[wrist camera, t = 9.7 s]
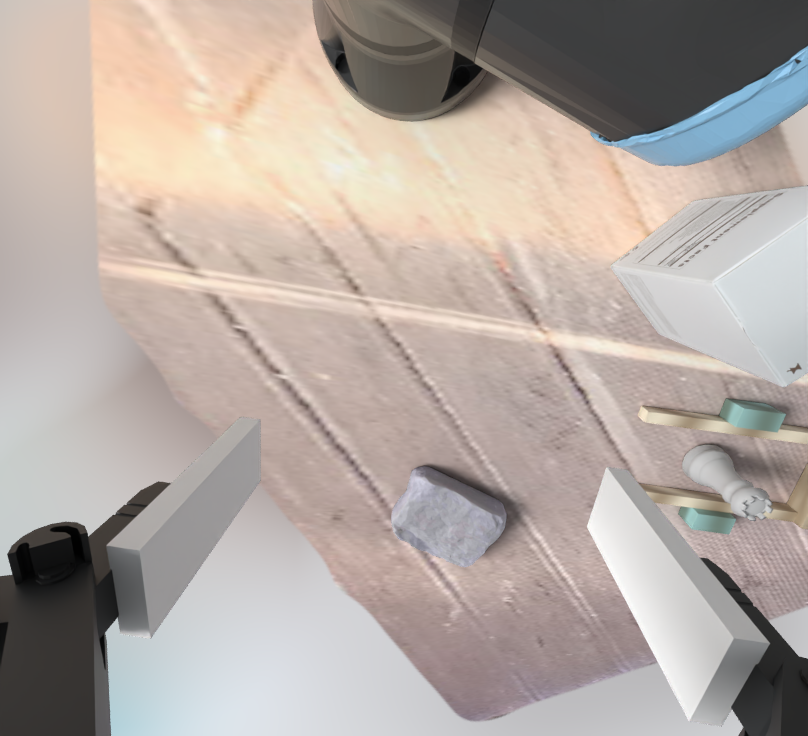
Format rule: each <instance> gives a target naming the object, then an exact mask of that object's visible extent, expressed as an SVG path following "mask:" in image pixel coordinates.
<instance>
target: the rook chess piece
mask: <svg viewBox="0 0 808 736" xmlns="http://www.w3.org/2000/svg"><path fill="white" fill-rule="evenodd" d="M682 467H683V471H684V473H685V474H686V476H688V477H689V478H691V479H692V481H694V482H696V483H698V484H700V485H703V486H707V487H711V488H713V489H714V490H716V491H717V492H718V493H720V494H721V495H722V498H723V499H724V501H725V502H727V503H729V504H731V510H732V511H733V513H734V514H736V515H738V516H740V517H745V518H748V519H749V520H750V521H756V518H755V517H758V518H760V519H761V520H763V519H765V518H767V517H766V516H765V515H764V514H763V513H764V512H766V511H767V512H768V513H772V511H773V508H771V507H770V506H771V505H773V504H772V502H771V501H770V500H769V495H768V494H767V492H766V491H764V490H762V489H761V488H754V486H753V485H752V483H750V482H749V481H747V480H743V479H742V478H741V477H740V476H739V475H738V473H737V472H736V471H735V467H734V466H733V461H732V460H731V458H730V457H729V455H728V454H727V453H725V452H724V451H723V449H721V448H720V447H718V446H716V445H701V446H696V447H695V448H693V449H691V450H689V452H688V453H687V454H686V455H685V457H684V459H683V462H682Z"/></svg>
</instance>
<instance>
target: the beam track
mask: <svg viewBox="0 0 808 736" xmlns="http://www.w3.org/2000/svg"><path fill="white" fill-rule="evenodd" d="M785 416H786V414H785V413H783V412H781V411H779V410H777V409H775V408H773V407H771V406H769V405H767V404H764V403H757V402H749V401H742V400H734V399H727V398H726V400H725V402H724V405H723V407H722V409H721V412H720V414H719V416H715V415H707V414H700V413H692V412H685V411H677V410H670V409H662V408H655V407H647V406H641V408H640V411H639V414H638V417H639V418H641V419H642V420H643V421H644V422H646V423H653V424H661V425H668V426H675V427H683V428H690V429H698V430H705V431H713V432H720V433H728V434H735V435H742V436H750V437H757V438H765V439H772V440H780V441H787V442H795V443H802V444H808V428H805V427H797V426H790V425H782V422H783V420H784V418H785ZM639 485H640V486H641V487H642V488H643V489H644V491H645V492H646V493H647V494H648V496H649V497H650V498H651V499H652V500H653V502H654V503H661V504H668V505H675V506H681V508H680V511H679V513H678V514H679V515H680V516H681V517H682V519H683V520H684V521H685V522H686V523H687V524H688V525H689V527H690V528H691V529H694V530H701V531H708V532H716V533H723V534H730V532H731V529H732V527H733V525H734V523H735V521H736V519H735V518H734V517H733V516H732V515H731V514H730V513H733V511H732V510H731V504H729V503H727V502H725V501H724V499H723V498H722V495H719V494H712V493H704V492H697V491H690V490H683V489H675V488H668V487H661V486H654V485H647V484H639ZM772 504H773V505H771V506H770V507H771V508H773V511H772V513H768V512H767V511H766V512H764V513H763V514H764V515H765V516H766V517H767V518H769V519H776V520H783V521H790V522H794V523H795V524H797V525H798V526H799V527H800V528H802V529H808V463H807V465H806V467H805V469H804V471H803V473H802V475H801V477H800V479H799V481H798V483H797V484H796V486H795V488H794V490H793V492H792V494H791V496H790V498H789V500H788V502H787V504H784V503H777V502H772ZM733 514H734V513H733Z"/></svg>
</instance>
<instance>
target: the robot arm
mask: <svg viewBox="0 0 808 736" xmlns="http://www.w3.org/2000/svg"><path fill="white" fill-rule="evenodd" d="M312 1H313V12H314V19H315V25H316V29H317V33H318V37H319V40H320V43H321V46H322V49H323V51H324V54H325V56H326V58H327V60H328V62H329V64H330V66H331V67H332V69H333V71H334V72H335V74H336V76H337V77H338V79H339V80H340V82H341V83H342V85H343V86H344V87H345V89H346V90H347V91H348V92H349V93H350V94H351V95H352V96H353V97H354V98H355V99H356V100H357V101H358V102H359V103H361V104H362V105H363V106H364V107H366V108H368V109H369V110H371V111H373V112H374V113H376V114H379V115H381V116H384V117H387V118H390V119H394V120H400V121H418V120H425V119H429V118H433V117H436V116H438V115H441V114H443V113H445V112H447V111H449V110H451V109H452V108H454V107H455V106H457V105H458V104H460V103H461V102H462V101H463V100H465V99H466V98H467V97H468V96H469V95H470V94H471V93H472V92H473V91H474V90H475V88H476V87H477V86H478V85H479V84H480V82H481V81H482V80H483V78H484V77H485V75H486V73H487V72H488V71H489V72H490V73H492V74H494V75H495V76H497V77H499V78H501V79H502V80H504V81H506V82H507V83H509V84H511V85H513V86H514V87H516V88H518V89H519V90H521V91H523V92H525V93H526V94H528V95H530V96H531V97H533V98H535V99H536V100H538V101H540V102H542V103H543V104H545V105H547V106H548V107H550V108H552V109H554V110H555V111H557V112H559V113H560V114H562V115H564V116H566V117H567V118H569V119H571V120H572V121H574V122H576V123H578V124H579V125H581V126H583V127H584V128H586V129H588V130H589V131H590V132H591V136H592V137H593V138H594V139H596V140H597V141H598V142H600V143H602V144H604V145H608V146H614V147H619V148H621V149H623V150H625V151H627V152H629V153H631V154H633V155H635V156H637V157H639V158H641V159H643V160H645V161H647V162H649V163H651V164H655V165H659V166H665V165H669V166H680V165H681V166H685V165H691V164H695V163H699V162H703V161H706V160H709V159H712V158H715V157H717V156H720V155H722V154H724V153H727V152H729V151H731V150H733V149H736V148H738V147H740V146H742V145H744V144H746V143H747V142H749V141H751V140H753V139H755V138H756V137H758V136H760V135H762V134H763V133H765V132H767V131H768V130H770V129H772V128H773V127H775V126H776V125H778V124H780V123H781V122H783V121H784V120H786V119H787V118H789V117H790V116H792V115H793V114H795V113H796V112H798V111H799V110H801V109H802V108H803V107H805V106H806V105H807V104H808V0H312ZM260 481H261V479H260V419H254V418H247V417H240V418H239V419H238V420H237V421H236V422H235V423H234V424H233V425H231V426H230V427H229V428H228V429H227V430H226V431H225V432H224V433H223V434H222V435H221V436H220V437H219V438H218V439H217V440H216V441H215V442H214V443H213V444H212V445H211V446H210V447H209V448H207V449H206V450H205V451H204V452H203V453H202V454H201V455H200V456H199V457H198V458H197V459H196V460H195V461H194V462H193V463H192V464H191V465H190V466H189V467H188V468H187V469H186V470H185V471H184V472H183V473H181V474H180V475H179V476H178V477H177V478H176V479H175V480H174V481H173V482H172V483H165V482H157V483H155V484H153V485H151V486H149V487H147V488H145V489H143V490H141V491H140V492H139V493H138V494H136V495H135V496H134V497H133V498H132V499H131V500H130V501H128V502H127V505H124V506H123V507H122V508H121V509H119V510H118V511H117V512H116V515H113V516H112V517H110V518H109V519H108V520H107V521H106V522H105V523H103V524H102V525H101V526H100V527H99V528H98V529H97V530H96V531H94V532H93V533H92V534H91V535H90V536H89V537H88V533H87V530H86V529H85V526H83V525H81V524H78V523H75V522H61V523H56V524H50V525H47V526H44V527H41V528H39V529H36V530H34V531H32V532H30V533H29V534H27V535H25V536H23V537H22V538H20V539H19V540H18V541H17V542H16V543H15V544H13V545H12V547H11V549H10V550H9V552H8V554H7V555H8V559H9V563H10V566H11V570H12V574H13V575H7V576H0V736H111V726H110V704H109V683H108V664H107V663H108V662H107V641H106V635H105V632H106V631H107V629H108V628H109V627H110V626H111V625H112V623H113V622H114V621H115V620H116V618H117V617H118V622H119V628H120V634H123V635H129V636H135V637H142V638H149V639H151V638H152V636H153V634H154V633H155V632H156V630H157V629H158V627H159V626H160V625H161V623H162V622H163V620H164V619H165V617H166V616H167V615H168V613H169V612H170V610H171V608H172V607H173V606H174V605H175V603H176V601H177V600H178V599H179V597H180V596H181V594H182V593H183V592H184V590H185V589H186V587H187V586H188V584H189V583H190V581H191V580H192V579H193V577H194V576H195V574H196V573H197V571H198V570H199V569H200V567H201V566H202V564H203V562H204V561H205V560H206V558H207V557H208V556H209V554H210V553H211V551H212V550H213V548H214V547H215V545H216V544H217V542H218V541H219V540H220V538H221V537H222V535H223V534H224V532H225V531H226V530H227V528H228V527H229V525H230V524H231V522H232V521H233V520H234V518H235V517H236V515H237V514H238V512H239V511H240V509H241V508H242V507H243V505H244V504H245V502H246V501H247V499H248V498H249V496H250V495H251V494H252V492H253V491H254V489H255V488H256V486H257V485H258V484H259V482H260ZM587 528H588V530H589V532H590V534H591V535H592V537H593V539H594V541H595V543H596V545H597V547H598V549H599V551H600V553H601V555H602V556H603V558H604V560H605V562H606V564H607V566H608V568H609V570H610V572H611V574H612V575H613V577H614V579H615V581H616V583H617V585H618V587H619V589H620V591H621V593H622V595H623V596H624V598H625V600H626V602H627V604H628V606H629V608H630V610H631V612H632V614H633V615H634V617H635V619H636V621H637V623H638V625H639V627H640V629H641V631H642V633H643V634H644V636H645V638H646V640H647V642H648V644H649V646H650V648H651V650H652V652H653V654H654V655H655V657H656V659H657V661H658V663H659V665H660V667H661V669H662V670H663V673H664V674H665V676H666V678H667V680H668V682H669V684H670V686H671V688H672V690H673V691H674V694H675V695H676V697H677V699H678V701H679V703H680V705H681V707H682V709H683V710H684V713H685V714H686V716H687V718H688V720H689V721H690V722H696V723H703V724H709V725H716V726H722V725H723V724H724V722H725V720H726V718H727V717H728V715H729V713H730V712H731V710H733V711H734V713H735V714H736V716H737V717H738V719H739V720H740V722H741V723H742V725H743V729H742V731H741V732H740V734H739V736H808V659H807V658H803V657H799V656H798V655H797V654H796V653H795V652H794V650H793V649H792V648H791V647H790V646H789V645H788V643H787V642H786V641H785V640H784V639H783V638H782V636H781V635H780V634H779V633H778V632H777V631H776V630H775V628H774V627H773V626H772V625H771V624H770V623H769V621H768V620H767V619H766V618H765V617H764V616H763V614H762V613H761V612H760V611H759V610H758V609H757V608H756V607H754V606H753V603H752V602H751V601H750V599H749V598H748V597H747V596H746V595H745V594H744V593H742V592H741V589H740V588H739V587H738V586H737V584H736V583H735V582H734V581H733V580H732V579H731V577H730V576H729V575H728V574H727V573H726V572H724V571H723V570H722V569H721V568H719V567H718V566H717V565H716V564H714V563H713V562H712V561H710V560H709V559H707V558H700V557H699V556H698V555H697V554H696V553H695V552H694V550H693V549H692V548H691V547H690V545H689V544H688V543H687V542H686V541H685V539H684V538H683V537H682V536H681V534H680V533H679V532H678V531H677V530H676V528H675V527H674V526H673V525H672V524H671V522H670V521H669V520H668V519H667V517H666V516H665V515H664V514H663V513H662V511H661V510H660V509H659V508H658V507H657V505H656V504H655V503H654V502H653V500H652V499H651V498H650V497H649V496H648V494H647V493H646V492H645V491H644V489H643V488H642V487H641V486H640V485H639V483H638V482H637V481H636V480H635V479H634V477H633V476H632V475H631V474H630V472H629V471H628V470H625V469H617V468H610V467H607V468H606V471H605V474H604V477H603V480H602V483H601V486H600V489H599V492H598V495H597V498H596V501H595V504H594V507H593V510H592V513H591V516H590V519H589V522H588V525H587Z"/></svg>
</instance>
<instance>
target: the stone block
mask: <svg viewBox="0 0 808 736" xmlns="http://www.w3.org/2000/svg"><path fill="white" fill-rule="evenodd" d="M506 516H507V514H506V512H505V509H504V506H503V504H502V503H501V502H500V501H499V500H497V499H495V498H493V497H491V496H489V495H487V494H485V493H483V492H481V491H478V490H476V489H474V488H472V487H470V486H468V485H466V484H464V483H462V482H459V481H458V480H456V479H453V478H451V477H448V476H447V475H445V474H443V473H441V472H439V471H437V470H435V469H432V468H430V467H427V466H422V467H417V468H415V469H414V470H412V473H411V476H410V481H409V483H408V486H407V490H406V492H405V493H404V494H403V495H402V496H401V497H400V498H399V500H398V502H397V503H396V504H395V506H394V508H393V510H392V518H391V523H392V527H393V532H394V534H395V535H396V536H397V538H398V539H400V540H403V541H406V542H408V543H410V544H411V546H413V547H415V548H416V549H419V550H421V551H427V552H428V553H430V554H431V555H434V556H436V557H439V558H444V559H445V560H446V561H448V562H450V563H453V564H456V565H459V566H462V567H467V566H470V565H472V564H473V563H474V562H475V561H476V560H477V559H478V558H479V557H480V556H482V555H483V554H484V553H485V551H486V549H487V548H488V547H489V546H490V545H491V544H493V543H494V542H495V541H496V540H497V539H498V538H499V536H500V535H501V534H502V532H503V530H504V529H505V524H506Z"/></svg>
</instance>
